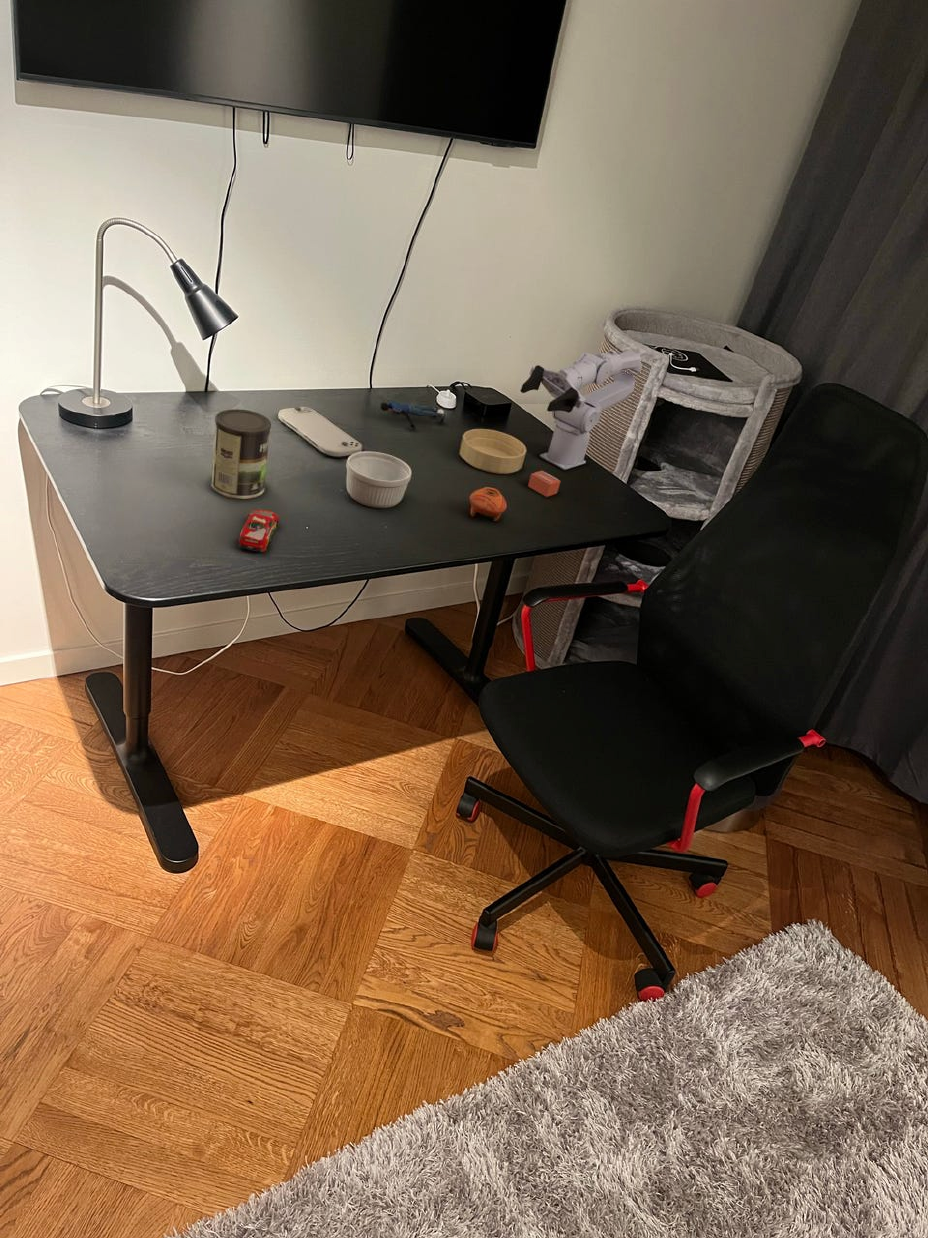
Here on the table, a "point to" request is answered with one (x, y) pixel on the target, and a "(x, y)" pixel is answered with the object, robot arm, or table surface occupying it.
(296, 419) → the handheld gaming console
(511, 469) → the bowl
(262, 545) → the race car
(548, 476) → the orange-red block
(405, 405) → the person figurine
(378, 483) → the ramekin
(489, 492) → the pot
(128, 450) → the table surface
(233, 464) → the coffee can
